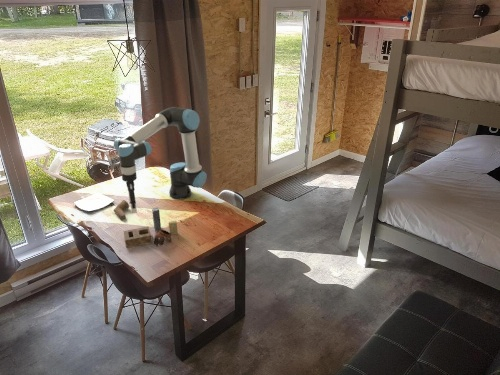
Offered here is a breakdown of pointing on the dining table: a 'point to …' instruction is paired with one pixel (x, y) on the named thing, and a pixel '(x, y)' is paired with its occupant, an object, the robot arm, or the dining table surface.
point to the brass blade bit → (173, 227)
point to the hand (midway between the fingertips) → (133, 207)
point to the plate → (94, 202)
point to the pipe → (121, 209)
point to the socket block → (137, 237)
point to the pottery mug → (161, 237)
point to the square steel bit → (156, 219)
